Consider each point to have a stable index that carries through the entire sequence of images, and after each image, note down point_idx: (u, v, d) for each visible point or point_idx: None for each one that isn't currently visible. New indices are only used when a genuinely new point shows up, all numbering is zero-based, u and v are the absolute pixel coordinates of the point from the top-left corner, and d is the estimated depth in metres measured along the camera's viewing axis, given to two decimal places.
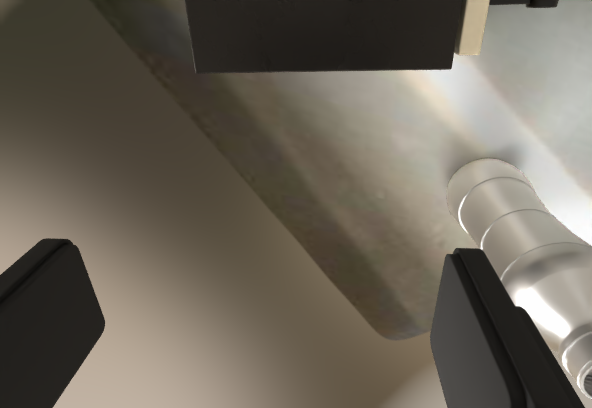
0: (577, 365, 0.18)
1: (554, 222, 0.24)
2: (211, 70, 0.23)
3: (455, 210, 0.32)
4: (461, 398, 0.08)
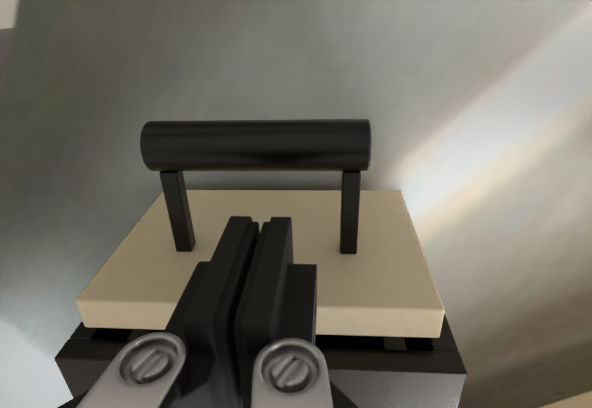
0: None
1: None
2: None
3: None
4: None
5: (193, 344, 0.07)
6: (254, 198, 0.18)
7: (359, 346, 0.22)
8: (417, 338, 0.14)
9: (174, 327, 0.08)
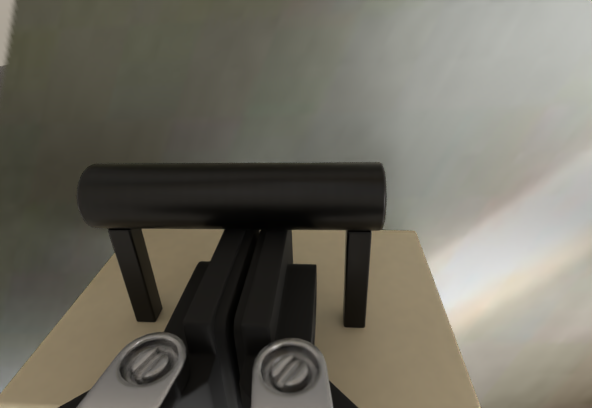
0: None
1: None
2: None
3: None
4: None
5: (193, 344, 0.07)
6: None
7: None
8: None
9: (174, 327, 0.08)
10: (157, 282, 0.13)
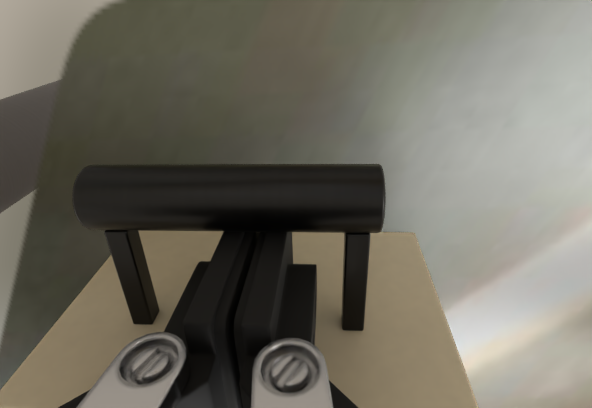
0: None
1: None
2: None
3: None
4: None
5: (193, 344, 0.07)
6: None
7: None
8: None
9: (174, 327, 0.08)
10: (154, 284, 0.13)
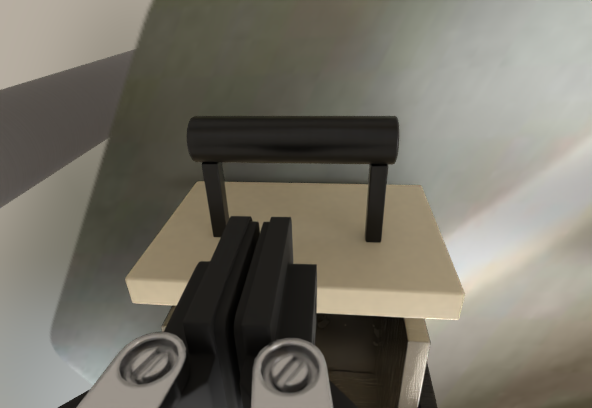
0: None
1: None
2: None
3: None
4: None
5: (193, 344, 0.07)
6: (282, 189, 0.19)
7: (377, 334, 0.23)
8: None
9: (174, 327, 0.08)
10: None
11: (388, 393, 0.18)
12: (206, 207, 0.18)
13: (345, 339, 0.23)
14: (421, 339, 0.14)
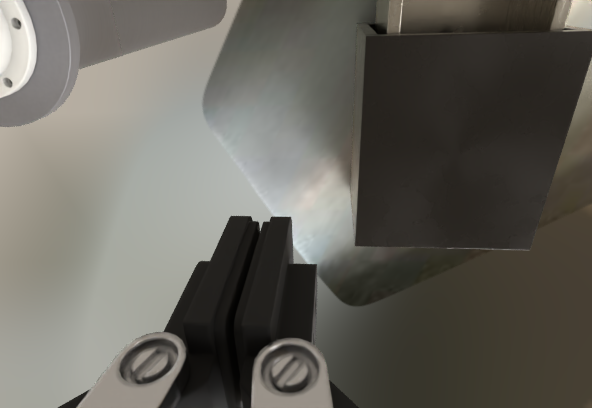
0: None
1: None
2: (531, 239, 0.28)
3: None
4: None
5: (193, 344, 0.07)
6: None
7: None
8: None
9: (174, 327, 0.08)
10: None
11: (534, 29, 0.24)
12: None
13: None
14: None
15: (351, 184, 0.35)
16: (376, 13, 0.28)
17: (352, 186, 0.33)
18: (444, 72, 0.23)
